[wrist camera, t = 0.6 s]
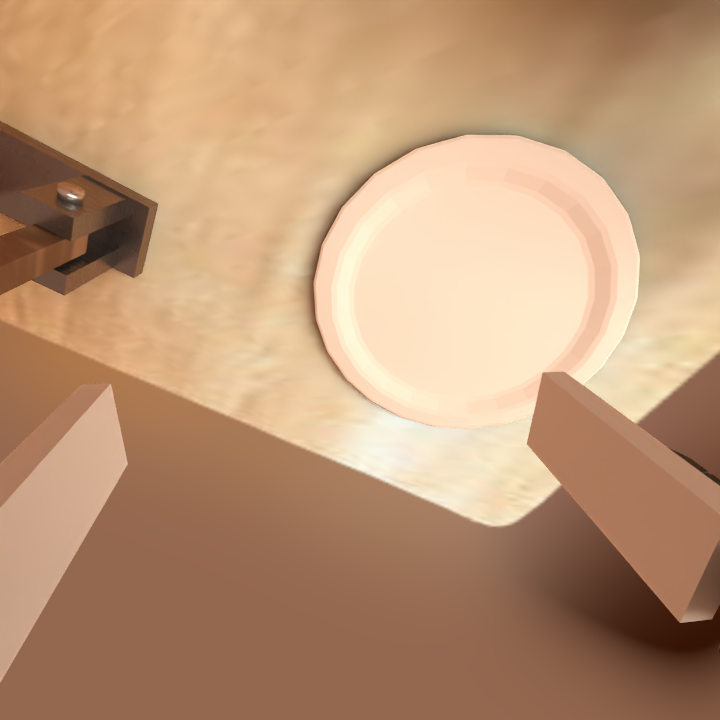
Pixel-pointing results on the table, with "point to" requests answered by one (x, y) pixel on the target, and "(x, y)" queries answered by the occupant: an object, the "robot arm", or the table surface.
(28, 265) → the lever
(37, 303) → the table surface
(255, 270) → the table surface
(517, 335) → the plate
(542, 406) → the robot arm
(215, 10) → the table surface
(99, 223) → the press base
